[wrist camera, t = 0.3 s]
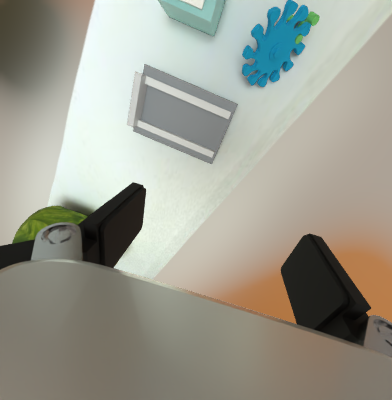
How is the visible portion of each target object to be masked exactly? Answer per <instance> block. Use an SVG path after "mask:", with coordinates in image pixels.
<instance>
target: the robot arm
mask: <svg viewBox="0 0 392 400" xmlns="http://www.w3.org/2000/svg"><path fill="white" fill-rule="evenodd" d="M145 196H146V189H145V188H144V187H143V185H140V184H137V183H132V184H130V185H129V186H128V187H126V188H125V189H124V190H122V191H121V192H120V193H119V194H117V195H116V196H115V197H113V198H112V199H111V200H109V201H108V202H106V203H105V204H104V205H102V206H101V207H100V208H99V209H97V210H96V211H95V212H93V213H92V214H91V215H90V216H88V217H87V218H86V219H84V220H83V221H82V222H80V223H79V224H78V225H76V224H74V223H69V222H60V223H55V224H52V225H49V226H46V227H45V228H43V229H41V230H40V231H39V232H38V233H37V235H36V238H35V239H34V240H29V241H24V242H18V243H13V244H8V245H3V246H0V400H392V323H391V322H389V321H388V320H386V319H384V318H382V317H380V316H376V315H372V316H369V317H368V315H367V314H366V312H367V311H368V310H370V309H371V307H370V306H369V304H368V303H367V301H366V300H365V298H364V297H363V296H362V294H361V293H360V291H359V290H358V289H357V287H356V286H355V284H354V283H353V281H352V280H351V279H350V277H349V276H348V274H347V273H346V271H345V270H344V269H343V267H342V266H341V264H340V263H339V261H338V260H337V259H336V258H335V256H334V254H333V253H332V252H331V250H330V249H329V247H328V246H327V244H326V243H325V242H324V240H323V239H322V238H321V237H319V236H316V235H313V234H307V235H304V236H303V237H302V238H301V240H300V241H299V243H298V244H297V246H296V247H295V249H294V250H293V251H292V253H291V254H290V256H289V257H288V258H287V260H286V261H285V263H284V264H283V266H282V267H281V274H282V277H283V281H284V284H285V287H286V290H287V293H288V296H289V300H290V303H291V306H292V309H293V313H294V316H295V319H296V323H297V324H294V323H291V322H288V321H284V320H281V319H278V318H275V317H272V316H269V315H265V314H262V313H259V312H256V311H253V310H249V309H246V308H243V307H240V306H236V305H234V304H230V303H227V302H224V301H221V300H218V299H214V298H211V297H208V296H205V295H201V294H198V293H195V292H192V291H188V290H185V289H182V288H178V287H175V286H172V285H168V284H165V283H162V282H158V281H155V280H152V279H149V278H146V277H142V276H139V275H135V274H132V273H128V272H125V271H121V270H118V269H114V268H113V267H114V266H115V265H116V263H117V262H118V261H119V259H120V258H121V256H122V255H123V254H124V252H125V251H126V250H127V248H128V247H129V245H130V244H131V243H132V241H133V240H134V239H135V237H136V236H137V234H138V233H139V232H140V230H141V228H142V225H143V216H144V206H145Z"/></svg>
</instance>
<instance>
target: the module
mask: <svg viewBox="0 0 392 400" xmlns="http://www.w3.org/2000/svg"><path fill="white" fill-rule="evenodd" d="M158 1H159V3H160V4H161V6H162V7H163V9H164V10H165V12H166V13H167V15H168V16H169V17H170V18H173V19H175V20H177V21H179V22H182V23H184V24H186V25H189V26H191V27H193V28H195V29H198V30H200V31H202V32H204V33H207V34H209V35H211V36H214V35H215V32H216V29H217V25H218V22H219V19H220V16H221V13H222V10H223V6H224V3H225V0H158Z"/></svg>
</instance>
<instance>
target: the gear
mask: <svg viewBox="0 0 392 400" xmlns="http://www.w3.org/2000/svg"><path fill="white" fill-rule="evenodd" d="M297 8H298V4H297V3H296V2H294V1H292V0H288V1H287V3H286V5H285V8H284V11H283V14H282V16H281V18H280V20H279V21H278V23H277V24H276V25H275V26H274V24H275V22H276V21H277V19H278V18H279V16H280V13H281V10H280V9H279V8H278V7H273V8H271V9H269V10H268V13H267V18H268V27H267V30H266V33H265V35H264V34H263V31H264V29H263V27H262V26H261V25H260V24H257V25H256V26H255V27H254V28H253V30H252V31H251V35H252V36H253V37H254V38H255V39H256V40H257V45H258V47H257V50H256V51H255V52H253V49H252V48H251V47H250V46H249V45H247V46H246V47H245V49H244V51H243V54H242V55H243V57H244V58H245V59H250V58H253V59H255V62H254V64H253V65H251V66H250V65H248V64H244V65H243V67H242V73H243V75H244V76H247V75H249V74H250V73H251V72H253V71H255V70H258V71H257V73H256V74H252V75H250V76H249V77H248V78H247V80H248V82H249V83H250V84H251V85H254V84H255V83H256V81H257V80H258V78H259V77H260V76H262V75H263V74H264V76H263V77H261V78H260V79H259V80H258V82H257V83H258V85H259V86H261V87H264V86H265V85H266V83H267V80H268V78H269V76H270V75H271V74H272V75H271V76H270V80H271V81H272V82H275V81H277V80H279V78H280V75H279V72H280V69H281V66H282V64H283V63H284V64H283V69H284V70H285V71H288V70H289V69H290V68H291V67H292V66H293V62H292V61H291V60H290V53H291V51H292V50H293V49H294V52H295V53H296V54H297V55H299V54H300V53H301V52H302V51H303V49H304V47H305V45H304V44H303V43H302V42H301V40H302V38H303V36H306V35H308V33H309V31H310V27H311V25H312V26H314V25H316V24H317V22H318V21H319V15H317V14H315V13H314V12H310V13H309V14H308V7H307V6H305V5H302V6H301V7H300V8H299V9H298V11H297V12H296V14H295V15H294V16H293V15H292V14H293V13H294V12H295V11H296V10H297ZM286 21H288V22H287V23H286ZM273 71H274V72H273ZM272 72H273V73H272Z"/></svg>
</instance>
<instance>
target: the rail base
mask: <svg viewBox="0 0 392 400" xmlns="http://www.w3.org/2000/svg"><path fill="white" fill-rule="evenodd" d="M237 105H238V104H236V103H234V102H232V101H229V100H227V99H225V98H222V97H220V96H218V95H215V94H213V93H211V92H208V91H206V90H204V89H201V88H199V87H197V86H195V85H192V84H190V83H188V82H185V81H183V80H181V79H178V78H176V77H174V76H171V75H169V74H167V73H164V72H162V71H160V70H158V69H155V68H153V67H151V66H148V65H146V64H144V70H143V74H141V73H138V72H135V75H134V82H133V88H132V95H131V102H130V108H129V115H128V122H127V125H129V126H131V127H134V129H133V131H134V132H136V133H139V134H141V135H144V136H146V137H148V138H151V139H153V140H155V141H158V142H160V143H163V144H165V145H167V146H170V147H172V148H174V149H177V150H179V151H182V152H184V153H186V154H189V155H191V156H193V157H196V158H198V159H201V160H203V161H205V162H208V163H210V164H212V163H213V160H214V158H215V156H216V153H217V151H218V149H219V146H220V144H221V142H222V140H223V137H224V135H225V133H226V130H227V128H228V126H229V123H230V121H231V119H232V116H233V114H234V112H235V109H236V107H237Z"/></svg>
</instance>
